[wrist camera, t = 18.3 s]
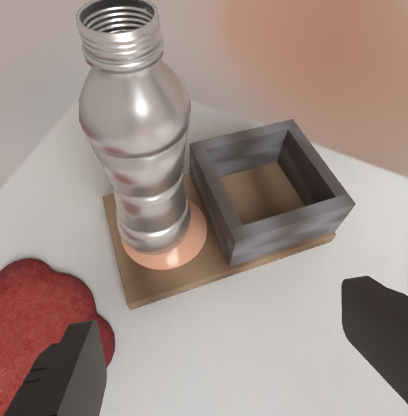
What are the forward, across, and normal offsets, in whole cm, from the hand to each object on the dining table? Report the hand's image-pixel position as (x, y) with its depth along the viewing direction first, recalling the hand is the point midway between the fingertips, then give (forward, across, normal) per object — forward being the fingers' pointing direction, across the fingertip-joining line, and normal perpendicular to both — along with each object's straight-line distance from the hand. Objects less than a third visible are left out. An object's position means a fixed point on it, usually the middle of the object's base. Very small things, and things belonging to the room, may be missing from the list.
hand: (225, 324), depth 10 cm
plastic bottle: (+21, +3, +3) cm, 22 cm away
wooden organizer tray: (+24, -3, +3) cm, 24 cm away
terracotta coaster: (+22, +2, +3) cm, 22 cm away
